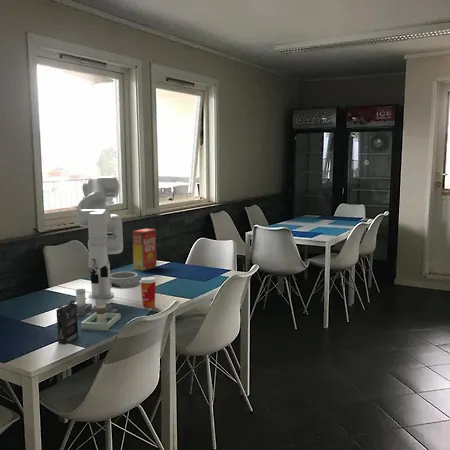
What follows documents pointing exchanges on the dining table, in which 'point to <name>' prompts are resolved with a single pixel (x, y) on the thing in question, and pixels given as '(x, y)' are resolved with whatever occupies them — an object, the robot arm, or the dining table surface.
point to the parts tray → (100, 326)
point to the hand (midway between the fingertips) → (99, 280)
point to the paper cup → (148, 291)
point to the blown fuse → (101, 311)
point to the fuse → (80, 298)
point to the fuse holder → (93, 309)
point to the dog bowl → (124, 279)
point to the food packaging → (144, 249)
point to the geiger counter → (67, 323)
